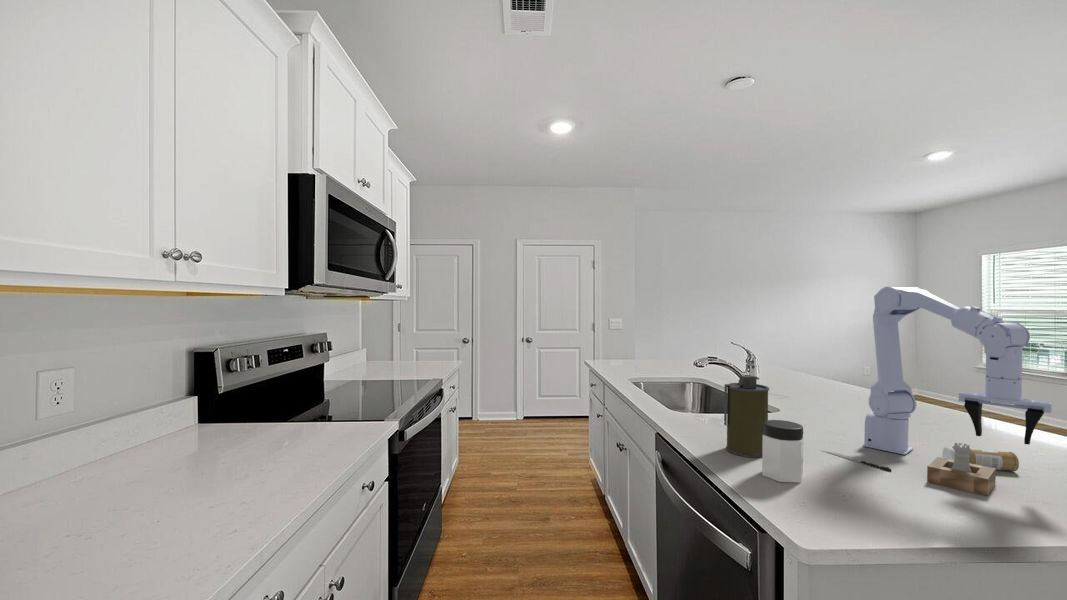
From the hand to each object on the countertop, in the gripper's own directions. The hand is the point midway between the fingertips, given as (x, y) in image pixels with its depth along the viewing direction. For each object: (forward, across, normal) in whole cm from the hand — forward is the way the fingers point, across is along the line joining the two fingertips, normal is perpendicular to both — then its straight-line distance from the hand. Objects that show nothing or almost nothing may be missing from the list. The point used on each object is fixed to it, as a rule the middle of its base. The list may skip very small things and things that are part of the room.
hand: (1002, 439), depth 106 cm
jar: (+10, -33, -32) cm, 47 cm away
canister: (+10, -47, -21) cm, 53 cm away
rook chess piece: (+10, -6, -4) cm, 12 cm away
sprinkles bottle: (+8, +1, +15) cm, 17 cm away
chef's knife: (+11, -27, -5) cm, 29 cm away
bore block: (+10, -6, -5) cm, 13 cm away
